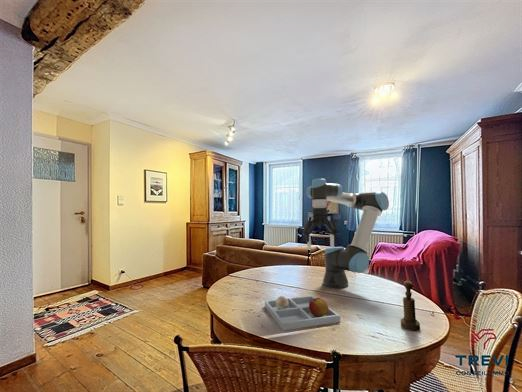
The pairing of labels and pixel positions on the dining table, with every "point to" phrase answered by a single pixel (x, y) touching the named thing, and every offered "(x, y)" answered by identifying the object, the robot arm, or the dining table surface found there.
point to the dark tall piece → (409, 310)
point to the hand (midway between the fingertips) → (320, 247)
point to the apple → (318, 307)
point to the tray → (299, 314)
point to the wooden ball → (282, 303)
